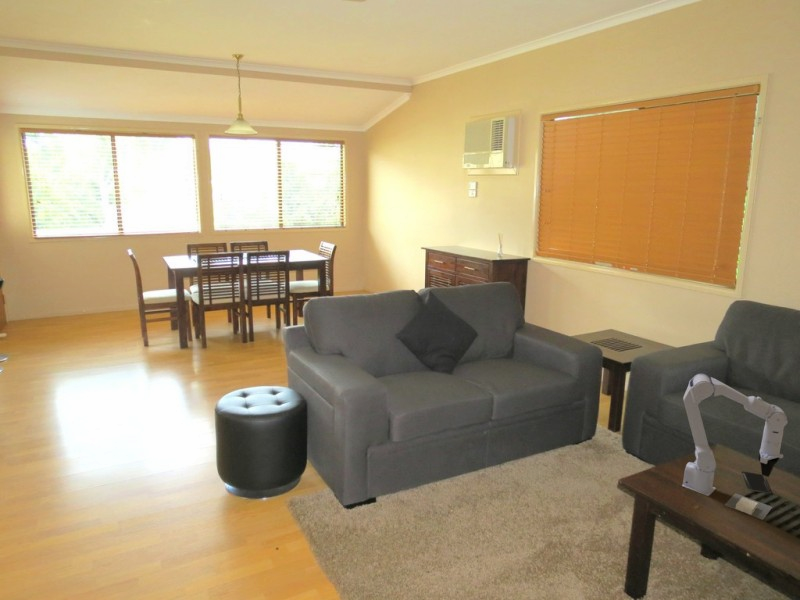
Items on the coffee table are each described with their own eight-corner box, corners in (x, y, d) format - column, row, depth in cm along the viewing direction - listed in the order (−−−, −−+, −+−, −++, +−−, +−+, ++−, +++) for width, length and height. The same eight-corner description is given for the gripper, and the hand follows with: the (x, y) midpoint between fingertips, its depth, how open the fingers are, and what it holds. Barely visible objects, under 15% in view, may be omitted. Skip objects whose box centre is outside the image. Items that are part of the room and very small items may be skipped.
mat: (724, 506, 200) (724, 505, 200) (735, 494, 208) (735, 493, 208) (762, 520, 191) (762, 519, 191) (772, 507, 200) (772, 506, 200)
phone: (748, 489, 211) (741, 470, 224) (747, 491, 211) (740, 473, 224) (772, 493, 208) (763, 474, 221) (772, 496, 208) (763, 477, 222)
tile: (741, 502, 202) (735, 509, 197) (742, 497, 202) (736, 504, 197) (757, 507, 199) (751, 515, 194) (758, 502, 198) (752, 510, 193)
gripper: (779, 450, 191) (773, 486, 194) (790, 438, 201) (783, 472, 204) (756, 443, 196) (750, 478, 199) (767, 431, 206) (761, 465, 209)
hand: (765, 475), depth 202 cm, fingers closed
